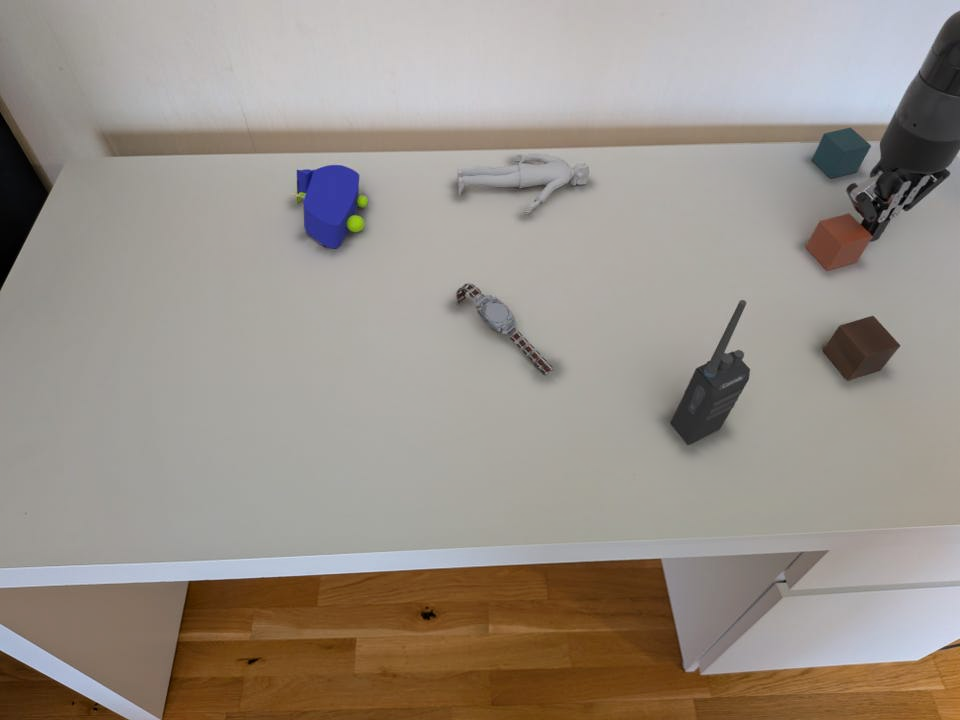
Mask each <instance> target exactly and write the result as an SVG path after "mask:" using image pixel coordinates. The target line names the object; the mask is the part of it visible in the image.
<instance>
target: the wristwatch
mask: <svg viewBox="0 0 960 720" xmlns="http://www.w3.org/2000/svg"><path fill="white" fill-rule="evenodd" d="M467 293H468V295H469V297H470V298H472V299H474V301H475V303H476V304H475V308H476V309H477V310H476V312H477V314H478V315H479V317H480V318H481V320H482V321H483V322H484V323H483V324H485V325H487V326H488V328H490V329H491V330H492V331H494V332H495V333H500V335H502V336H507V337H508V338H509V339H510V340H511V342H512V343H515V345H516V347H517V348H518V349H519V350H521V352H522V353H523V354H524V355H525V356H527V359H529V361H531V362H532V363H534V364H533V365H534V366H535V367H536V368H537V369H540V372H541V374H542V375H544V376H547V375H548V374H549V371H553V370H554V367H553V366H552V365H551V364H550V363H549V362H548V361H547V360H546V358H544V357H543V356H541V353H540V352H539V351H538V350H537V349H536V348H535V347H534V346H533V345H532V344H531V343H529V341H528V340H527V338H525V337H523V335H522V334H521V332H520V331H518V329H517V328H516V327H517V325H518V323H517V321H516V317H515V315H514V313H513V312H512V310H511V309H510V308H509V307H508V306H507V305H506V304H505V303H504V301H502V300H501V299H500V298H497V297H496V296H494V297H493V296H492V295H491V294H486V295H485V294H484V293H482V291H481V289H480V288H479V287H478V286H476V285H475V284H473V283H469V282H468V283H464V284H463V285H462V286H461V287H459V288H458V289H456V292H455V294H456V295H455V297H456V300H457V301H456V304H455V305H456V306H458V305H459V304H460V303H462V302H463V301H464V300H466V298H467ZM478 295H479V296H478Z"/></svg>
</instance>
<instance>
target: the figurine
mask: <svg viewBox="0 0 960 720" xmlns="http://www.w3.org/2000/svg"><path fill="white" fill-rule="evenodd" d="M514 162H517V163H516V164H513V165H512V164H511V165H507V166H506V165H505V166H497V167H490V166H479V165H478V166H470V167H461V169H459V168H457V189H458V196H462V194H463V191H464V189H465V187H489V188H490V187H491V188H515V187H517V188H518V189H522V188H530V187H535V186H545V187H544V188H543V189H542V190H541V191H540V193H539V194H538V196H536V198H535V199H534V202H532V203H531V204H530V205H526V207H527V208H525V209H524V210H525V211H524V213H525V215H528V214H530V213H531V212H532V211H534V210H535V209H536V208H537V207H539V206H540V205H542V204H543V203H544V202H545V201H546V200H547V199H548V198H549V196H551V194H552V193H553V192H554V191H555V190H557V189H559V188H561V187H563V186H564V185H567V184H568V183H570V185H571V186H577V185H579V186H580V185H587V183H588V179H589V175H590V169H589V165H588V164H587V163H586V162H581V163H575V166H573V168H572V167H571V166H570V165H569V163H568V162H567V160H564V159H563V158H561V157H558V156H553V155H548V154H545V153H538V152H537V153H528V154H527V155H525V154H516V155H515V156H514ZM525 162H526V163H525ZM527 162H531V163H527ZM534 163H540V164H534Z"/></svg>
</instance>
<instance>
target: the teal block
mask: <svg viewBox="0 0 960 720" xmlns="http://www.w3.org/2000/svg"><path fill="white" fill-rule="evenodd" d="M871 147H872V144H870V143H869V142H868V141H867V140H866V139H865V138H863V136H861V135H860V134H859V133H858V132H857V131H856V130H854V129H853V128H852V127H846V128H842V129H837V130H832V131H829V132H825V133H823V135H822V137H821V139H820V141H819V144H818V146H817V148H816V150H815V151H814V153H813V156H812V158H811V162H812V163H814V164H815V165H816V167H818V168H819V170H820V171H822V172H823V173H824V174H825V175H826V176H827V177H828V178H829V179H835V178H840V177H844V176H847V175H851V174H856V173H858V171H859V170H860V167H861V166H862V164H863V162H864V160H865V159H866V156H867V154H868V153H869V151H870V149H871Z"/></svg>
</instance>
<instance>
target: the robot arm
mask: <svg viewBox="0 0 960 720" xmlns="http://www.w3.org/2000/svg"><path fill="white" fill-rule="evenodd" d="M904 91H905V92H904V93H903V95H902V98H901V99H900V102H899V103H898V106H897V107H896V109H895V111H894V113H893V115H892V117H891V119H890V121H889V123H888V125H887V127H886V128H885V131H884V132H883V135H882V137H881V138H880V142H879V151H880V159H879V161H878V162H877V163H876V164H875V165H874V166H873V168H871V170H870V172H869V178H868V179H866V180H865V181H863V182H862V183H861V184H860V185H858V184H856V182H853V183H851V184H849V185H848V186H846V189H845V192H846V193H847V196H848V198H849V200H850V202H851V204H852V206H853V208H854V210H855V211H856V212H857V213H858V214H859V215H860V216H861V217H862V218H863V219H862V221H861V222H860V224H861V225H862V226H863V227H864V228H865V229H866V230H867V231H868V232H869V233H870V234H871V235H872V236H873V237H872V239H871V240H870V242H869V243H872V242H875V241H878V240H879V239H880V238H881V236H882V235H883V233H884V232H885V230H886V228H887V227H888V225H889V223H890V222H891V220H893V219H895V218H896V217H898V216H899V215H900V213H901V211H904V212H909V211H910V210H912V209H913V208H914V207H915V206H916V205H918V203H919V202H921V201H922V200H923V199H924V198H926V197H927V196H928V195H929V194H930V193H931V192H933V191H934V190H935V189H936V188H937V187H938V186H940V185H941V184H942V183H943V182H944V181H945V180H946V179H947V178H949V177H950V175H951V171H949V170H948V169H947V168H948V167H950V165H951V164H952V163H953V162H954V161H955V159H956V157H957V155H958V154H959V152H960V10H958V11H956V12H954V13H952V14H951V15H950V16H949V17H948V18H947V19H946V20H945V22H944V23H943V25H942V26H941V28H940V29H939V31H938V33H937V35H936V36H935V39H934V40H933V43H932V44H931V46H930V48H929V50H928V52H927V53H926V55H925V58H924V60H923V62H922V63H921V65H920V68H919V69H918V70H917V73H916V74H915V76H914V77H913V78H912V80H911V81H910V83H909V85H908V86H907V88H906V90H904Z"/></svg>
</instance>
